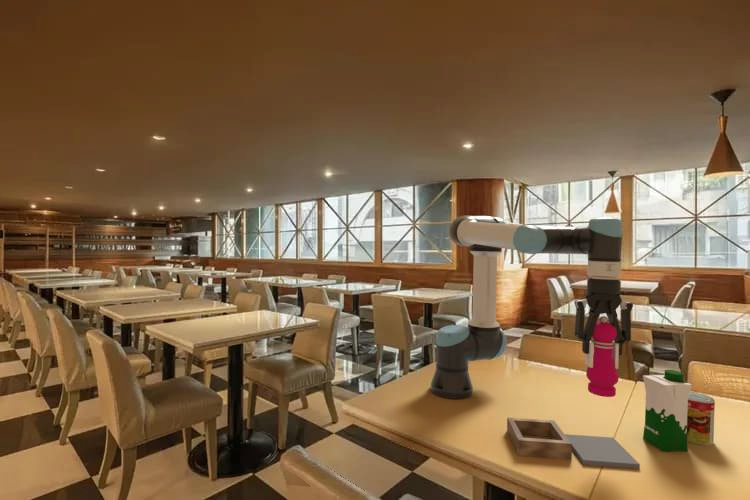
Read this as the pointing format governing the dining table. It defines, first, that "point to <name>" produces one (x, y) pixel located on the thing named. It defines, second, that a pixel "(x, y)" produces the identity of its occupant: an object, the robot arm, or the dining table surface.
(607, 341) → the pepper mill
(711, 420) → the canned food
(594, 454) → the coaster
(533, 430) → the brown wooden square tray
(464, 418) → the dining table surface
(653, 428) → the milk carton
